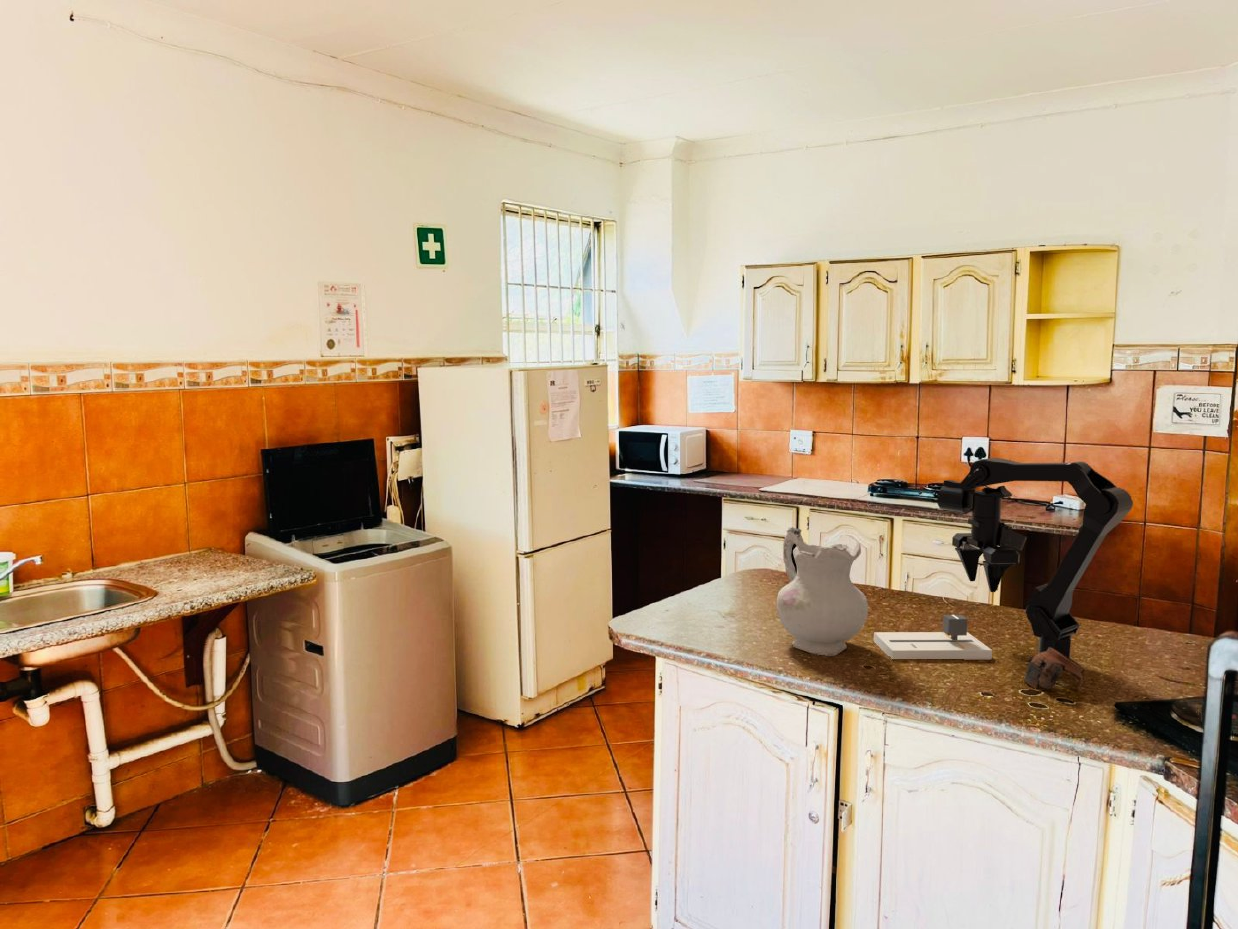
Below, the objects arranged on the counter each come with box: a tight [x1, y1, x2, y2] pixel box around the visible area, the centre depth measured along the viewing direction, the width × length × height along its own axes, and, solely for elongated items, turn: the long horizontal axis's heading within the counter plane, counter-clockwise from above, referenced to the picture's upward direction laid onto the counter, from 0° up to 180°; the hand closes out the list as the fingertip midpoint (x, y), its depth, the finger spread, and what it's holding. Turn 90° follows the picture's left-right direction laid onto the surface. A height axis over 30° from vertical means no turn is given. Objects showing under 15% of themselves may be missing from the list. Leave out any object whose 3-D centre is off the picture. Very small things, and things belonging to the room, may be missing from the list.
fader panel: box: [873, 631, 993, 660], centre depth 189 cm, size 12×21×2 cm, turn 92°
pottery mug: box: [1023, 647, 1085, 691], centre depth 167 cm, size 12×10×8 cm
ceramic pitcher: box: [776, 527, 869, 657], centre depth 190 cm, size 22×20×25 cm
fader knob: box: [941, 614, 968, 640], centre depth 188 cm, size 3×4×5 cm
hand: (982, 586), depth 192 cm, fingers open, 9 cm apart
